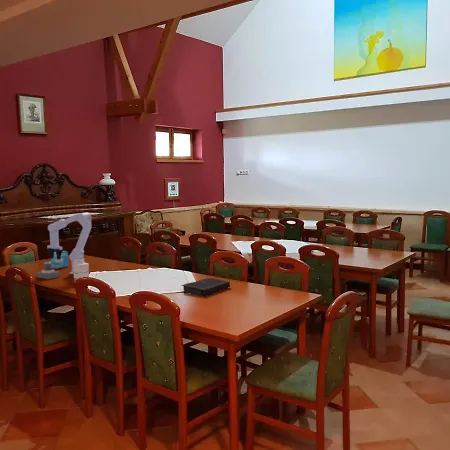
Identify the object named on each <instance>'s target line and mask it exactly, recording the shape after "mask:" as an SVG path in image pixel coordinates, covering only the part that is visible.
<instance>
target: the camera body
mask: <svg viewBox="0 0 450 450" xmlns="http://www.w3.org/2000/svg"><path fill="white" fill-rule="evenodd" d="M36 276H37V278H39V279H44V280H50V279H52V280H53V279H56V278H59V277H60V271H57V270H56V269H55V268H52V270H50V271H45V268H44V269H42V270H40V271H37V272H36Z"/></svg>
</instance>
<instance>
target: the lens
mask: <svg viewBox="0 0 450 450" xmlns="http://www.w3.org/2000/svg"><path fill="white" fill-rule="evenodd" d="M44 269H45V271H50V270H52V269H53V268H52V266H51V260H47V261H44Z"/></svg>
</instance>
